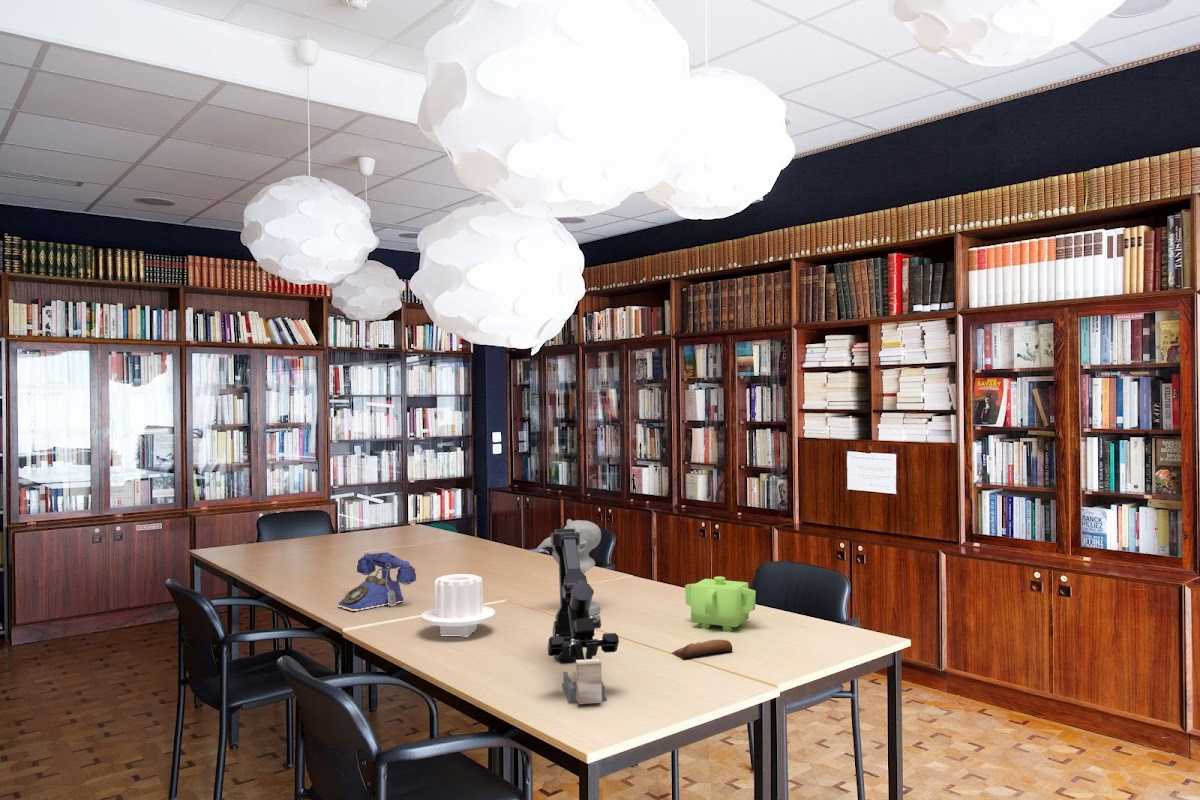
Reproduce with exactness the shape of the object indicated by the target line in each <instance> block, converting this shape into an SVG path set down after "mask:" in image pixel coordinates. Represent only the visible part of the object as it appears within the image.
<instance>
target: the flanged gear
mask: <svg viewBox="0 0 1200 800" xmlns="http://www.w3.org/2000/svg"><path fill="white" fill-rule="evenodd" d="M483 581H484V580H483V578H482V577H481V576H479V575H476V574H469V573H468V574H467V573H459V574H458V573H457V574H456V573H454V574H447V575H445V574H444V575H442V576H439V577H436V579H435V580H434V581H433V608H430V609H427V610H425V611H423V612H422V613H421V618H420V619H421V621H422V622H423V623H425V624H426V625H432V626H437V627H439V635H440V634H441V635H461V636H467V635H469V634H471V633H472V632H473V631H475V630H476V629H477V630H478V625H480V624H484V623H485V622H486V623H487V622H490V621H491V620H493V619H495V618H496V610H495V609H494V608H492V607H489V606H486V605H483V604H484V603H483V602H484V601H483V596H484V594H483V592H484V591H483V590H484V589H483ZM475 632H476V631H475ZM471 635H472V634H471Z"/></svg>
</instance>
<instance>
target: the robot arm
mask: <svg viewBox="0 0 1200 800" xmlns="http://www.w3.org/2000/svg"><path fill="white" fill-rule="evenodd" d="M550 537H551V544H552V545H553V547H552V549H553V550H552V551H554V552H555V553H556V555H557V556H558V558H559V564H558V575H559V576H558V579H559V605H560V607H559V608H558V610H557V612H556V614H555V621H553V626H552V636H550V637H549V639H548V642H547V655H548V656H549V657H553V658H554V659H555V660H556V661H557V662H559V663H561V664H566V663H572V662H573V663H574V662H576V660H586V659H593V657H596V656H597V655H598V649H599V647H601V651H603V652H604V653H615V652H616V651H618V647H619V643H620V639H619V638H620V637H619V634H617V633H615V632H609V633H607V632H606V633H602V638H594V637H595V632H596V631H595V630H596V629H600V628H601V627H602V621H601V616H600V615H598V614H597V615H593V616H590V614H589V608H590V606H591V602H593V601H592V600H593V595H594V589H593V587H592V586H591V585H590V583H588V580H587V576H586V575H585V573H584V574H583V573H582V572H581V569H580V563H579V556H578V550H577V545H580V533H579V532H575V530H574V529H564V528H559V529H558V528H557V529H554V531H553V532H551V533H550ZM584 648H585V649H586V650H585V656H584Z"/></svg>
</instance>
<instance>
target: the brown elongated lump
mask: <svg viewBox="0 0 1200 800" xmlns="http://www.w3.org/2000/svg"><path fill="white" fill-rule="evenodd" d="M730 651H731V652H730ZM724 652H730V653H733V644H732V642H730V641H729V640H727V639H710V640H706V641H702V642H700V641H699V642H696V643H692V642H691V643H688V644H686V645H685V646H683V647H681V648H677V649H675V650H674V651H672V652H671V655H673V654H674V656H675V657H677V658H679V659H681V660H687V659H692V658H694V657H699V656H702V655H703V656H704V655H710V654H711V655H712V654H715V653H716V654H718V653H724Z"/></svg>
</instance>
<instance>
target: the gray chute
mask: <svg viewBox="0 0 1200 800" xmlns="http://www.w3.org/2000/svg"><path fill="white" fill-rule="evenodd" d="M562 676H563V681H562V683H561V687H562V690H563V694H564V695H565V697H567V698H566V699H567V702H568V704H577V703H578V702H577V699H576V681H572V680H571V677H570V676H569V673H568V671H563V674H562ZM607 699H608V697H607V695H606V687H605V684H604V682H603V681H602V702H605V701H607Z"/></svg>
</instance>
